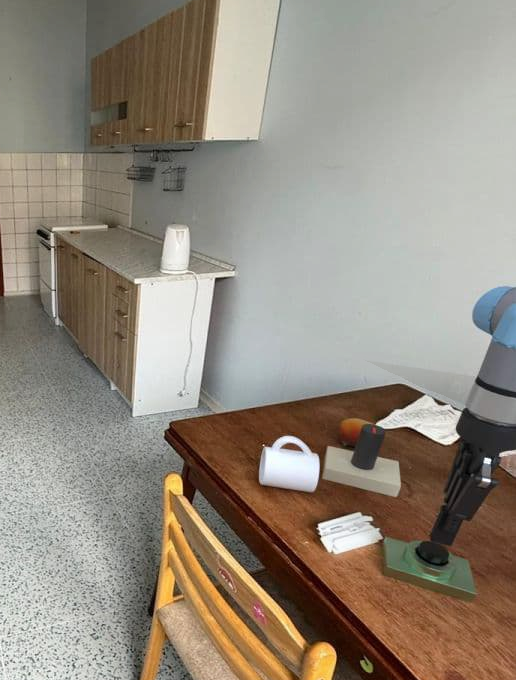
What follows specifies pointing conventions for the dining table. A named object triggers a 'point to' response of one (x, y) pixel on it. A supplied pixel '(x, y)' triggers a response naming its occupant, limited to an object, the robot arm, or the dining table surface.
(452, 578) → the button box
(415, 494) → the dining table surface
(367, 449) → the dark grey cylinder
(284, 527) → the dining table surface
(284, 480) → the mug
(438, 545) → the button
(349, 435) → the fruit
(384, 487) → the panel
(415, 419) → the dining table surface
